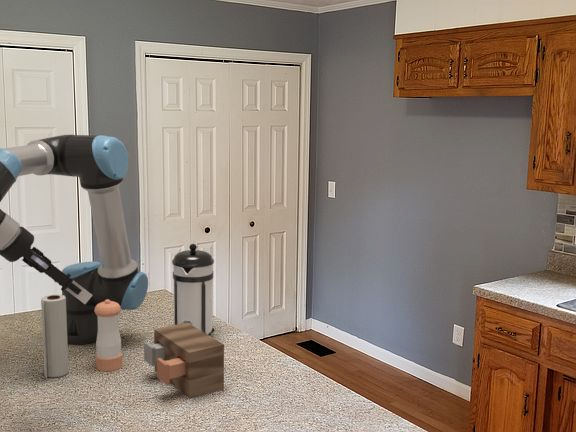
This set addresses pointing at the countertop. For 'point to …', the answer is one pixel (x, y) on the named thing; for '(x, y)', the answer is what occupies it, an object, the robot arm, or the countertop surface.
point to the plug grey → (153, 352)
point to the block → (193, 358)
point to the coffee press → (193, 288)
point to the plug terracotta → (170, 369)
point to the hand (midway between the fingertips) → (87, 298)
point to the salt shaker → (108, 337)
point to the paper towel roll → (54, 335)
